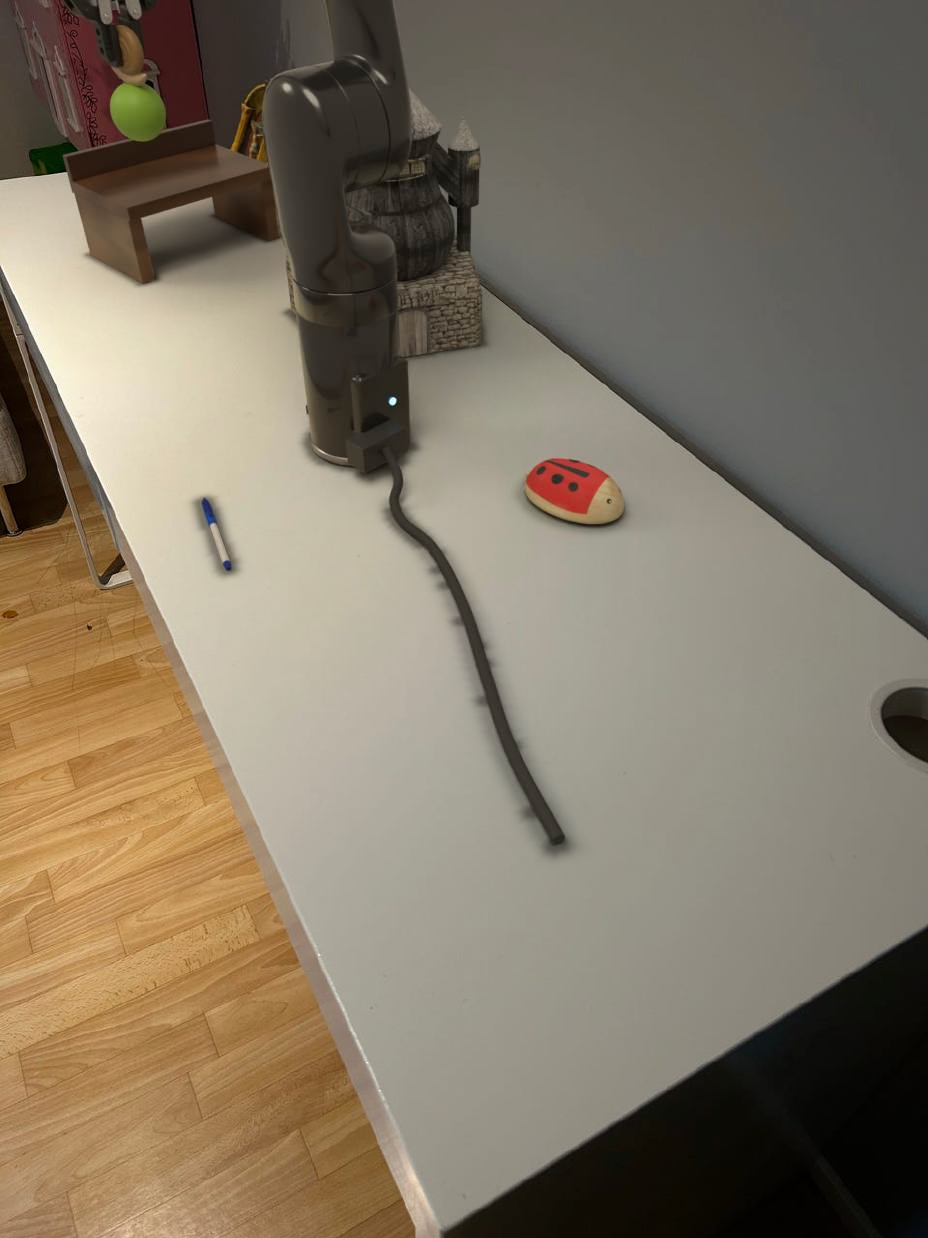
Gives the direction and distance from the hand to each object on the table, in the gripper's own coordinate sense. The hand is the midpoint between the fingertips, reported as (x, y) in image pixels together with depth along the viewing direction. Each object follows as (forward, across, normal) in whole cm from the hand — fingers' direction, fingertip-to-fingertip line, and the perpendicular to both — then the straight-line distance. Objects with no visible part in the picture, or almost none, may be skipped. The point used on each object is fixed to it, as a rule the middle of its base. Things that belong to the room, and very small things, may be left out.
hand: (125, 62), depth 93 cm
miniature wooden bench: (+28, +14, +19) cm, 36 cm away
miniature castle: (+27, +18, -19) cm, 38 cm away
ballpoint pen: (+27, -21, -37) cm, 51 cm away
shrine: (+28, +34, +31) cm, 54 cm away
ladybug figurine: (+27, +4, -57) cm, 63 cm away
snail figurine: (+7, 0, 0) cm, 7 cm away
